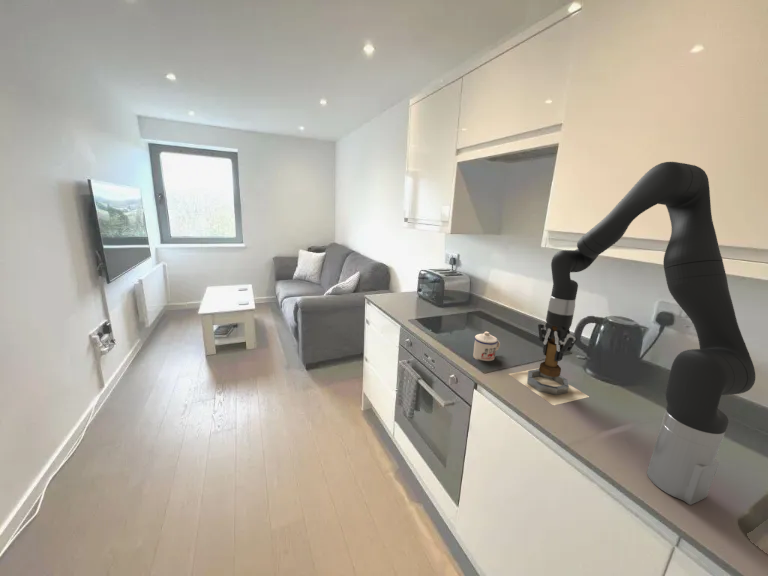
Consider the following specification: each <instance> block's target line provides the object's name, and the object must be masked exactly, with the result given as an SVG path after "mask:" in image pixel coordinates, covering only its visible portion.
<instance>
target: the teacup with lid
mask: <svg viewBox="0 0 768 576" xmlns="http://www.w3.org/2000/svg"><path fill="white" fill-rule="evenodd" d="M500 346H501V342H500V341H499V340H498V338H497V337H496V336H493V335H492V334H490V332H489V331H484V333H478V334H476V335H475V336H474V345H473V355H472V358H474V360H475V361H476V360H479V361H485V362H491V361H494V360H495V359H496V353H497V351H498V350H499V349H500V348H501V347H500Z"/></svg>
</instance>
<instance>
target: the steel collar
mask: <svg viewBox="0 0 768 576" xmlns="http://www.w3.org/2000/svg"><path fill="white" fill-rule="evenodd" d="M534 369H535V370H532V369H529V370H530V371H528V376H527V384H529V385H530V386H532V387H533V388H534V389H536V390H537V391H539V392H543V393H547V394H551V395H555V396H557V395H562V394H566V393H568V388H569V386H568V384H569V382H568V378H565V377H564V376H562V375H560V376H558V377H551V376H547V375H544V374H543V373H541V372H540V371H539V369H538V368H534ZM535 377H543V378H548V379H552V380H554V381H555V382H557V383H559V384H560V385H562V386H557V387H554V386H549V385H545V384H541V383H540V382H538V381H537V380H535V379H534V378H535Z"/></svg>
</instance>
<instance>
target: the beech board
mask: <svg viewBox="0 0 768 576" xmlns="http://www.w3.org/2000/svg"><path fill="white" fill-rule="evenodd" d="M539 368H540V367H538V368H537V369H539ZM535 369H536V368H534V369H527V370H522V371H517V372H512V373H508V375H509V376H511V377H512V378H514V380H516V381H517V382H519V383H520V384H522V385H524V386H525V387H527V388H528V389H529V390H530V391H532V392H533V393H535V394H536V395H538V396H539V397H540V398H542V399H543V400H545V401H546V402H547V403H549V404H551V405H552V406H558V405H562V404H566V403H570V402H573V401H578V400H582V399H586V398H587V399H588V398H590V396H589V395H587V394H586V393H584V392H582V391H580V390H579V389H578V388H576V387H574V386H572V385H570V384H569V383H568V386H569V388H568V393H566V394H562V395H557V396H555V395H551V394H547V393H543V392H539V391H537V390H536V389H534V388H533V387H532V386H530V385H529V384H527V376H528V371H530V370H535ZM534 379H535V380H537V381H538V382H540V383H541V384H545V385H549V386H554V387H557V386H562V385H560V384H559V383H557V382H555V381H554V380H552V379H548V378H543V377H535V378H534Z"/></svg>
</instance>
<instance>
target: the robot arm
mask: <svg viewBox="0 0 768 576" xmlns="http://www.w3.org/2000/svg"><path fill="white" fill-rule="evenodd" d="M710 192H711V191H710V181H709V177H708V174H707V173H706V171H705V170H704V169H703V168H701V167H700V166H697V165H695V164H689V163H686V162H685V163H684V162H677V161H664V162H661V163H659V164H657V165H655V166H652V168H650V169H649V170H648V171H647V172H645V173H644V175H643V176H642V177H641V178H640V179H639V180H637V182H636V183H635V184H634V185H633V187H632V188H630V190H629V191H628V192H627V193H626V194H625V195H624V196H623V198H622V199H621V200H620V201H619V202H618V203H617V204H616V205H615V206H614V207H613V209H612V210H611V211H610V212H609V213H608V214H607V215H606V216H605V217H604V218H603V219H602V220H600V221H599V222H598V223H597V224H596V225H595V226H593V227H592V228H590V230H589V231H587V232H586V233H584V235H582V236H581V237H580V238H579V240H577V241H576V247H577V248H576V249H575V250H572V249H571V250H569V249H568V250H566V249H565V250H559V251H557V252H556V253H555V254H554V255H553V256H552V259H551V263H550V266H551V276H552V277H551V279H552V289H551V295H550V298H549V300H548V306H547V312H546V313H547V314H546V318H545V321H546V323H539V324H538V325H537V328H538V337H539V339H538V340H539V341H540V342H542V343H543V348H542V352H543V355H544V356H545V357H546V352H547V346H548V341H550V340H552V338H554V340H555V344H556V346H557V351H556V354H555V359H554V360H555V361H558V362H561V361H562V360H563V357H564V353H568V352H571V350H572V349H573V347H574V346H575V343H576V342H577V341H578V337H577V336H573V335H572V334H571V331H570V328H571V326H572V325H573V323H572V322H573V319H574V316H575V315H574V313H575V309H576V300H577V294H578V290H579V289H578V288H579V283H578V282H577V281H575V280H573V279H571V273H579V272H583V271H585V270H586V269H588V268H589V267H590V266H591V265H592V264H593V263H594V261H595V260H596V259H597V258H598V257H599V255H601V254H603V253H604V252H605V251H607V250H608V249H609V248H611V247H612V246H613V245H615V244H616V243H618V241H620V240H621V239H622V237H623V236H624V234H625V233H626V231H627V230H628V228H629V227H630V225H631V223H632V222H633V221H634V220H635V219H636V218H637V217H638V216H640V215H641V214H643V213H644V212H645V211H647V210H649V209H651V208H652V207H654V206H656V205H664V206H665V207H666V209H667V212H668V215H669V220H670V225H671V234H670V238H669V240H668V243H667V245H666V249H665V252H664V255H663V264H662V265H663V270H664V271H663V272H664V275H665V281H666V286H667V288H668V291H669V293H670V295H671V296H672V299H673V300H674V301H675V302H676V303H677V304H678V306H679V307H680V308H681V309H682V311H683V312H684V313H685V314H686V316H688V318H689V320H690V321H691V324H692V325H693V326H694V328H695V332H696V336H697V339H698V344H699V348H694V349H693V348H692V349H687V350H683V351H681V352H680V353H679V354H677V355H676V357H675V359H673V362H672V365H671V367H670V371H669V375H668V381H667V384H666V389H665V400H666V408H665V412H664V414H663V418H662V421H661V424H660V428H659V431H658V435H657V438H656V440H655V445H654V448H653V450H652V455H651V457H650V460H649V464H648V468H647V472H646V474H647V476H648V478H649V479H650V481H651V482H652V483H653V484H654V485H655V486H656V487H657V488H659V489H660V490H662V491H663V492H665V493H666V494H668V495H669V496H672V497H673V498H676V499H679V500H681V501H683V502H685V503H687V505H690V506H691V505H694V504H695V503H698V502H700V501H702V500H704V499H706V498H707V496H708V494H709V491H710V489H711V486H712V483H713V480H714V477H715V476H716V473H717V470H718V466H719V464H720V461H719V460H718V459H717V456H718V453H719V450H720V448H721V446H722V445H721V444H722V443H723V440H724V437H725V434H726V431H727V429H728V425H729V423H730V422H729V418H728V416H727V415H726V414H725V413H724V412H723V411H722V410H720V409H719V405H720V401H721V398H722V396H728V395H730V396H731V395H741V394H744V393H746V392H748V391H750V390H751V389H752V388H753V387H754V384H755V382H756V370H755V366H754V363H753V360H752V357H751V355H750V353H749V349H748V347H747V344H746V342H745V340H744V337H743V335H742V332H741V329H740V326H739V323H738V319H737V317H736V312H735V311H736V310H735V307H734V304H733V300H732V297H731V292H730V288H729V283H728V277H727V273H726V269H725V265H724V261H723V256H722V255H721V254H722V253H721V251H720V248H719V247H720V246H719V241H718V239H717V238H718V237H717V234H716V233H717V232H716V229H715V226H714V221H713V217H712V216H713V215H712V206H711V193H710ZM552 326H556V327H557V330H556V331H553V329H552Z"/></svg>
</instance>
